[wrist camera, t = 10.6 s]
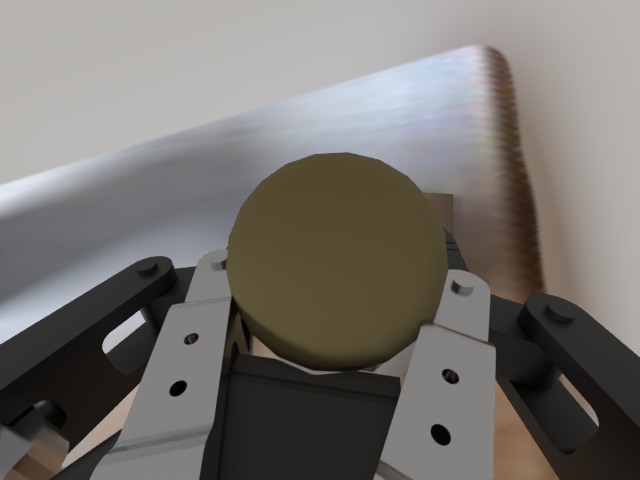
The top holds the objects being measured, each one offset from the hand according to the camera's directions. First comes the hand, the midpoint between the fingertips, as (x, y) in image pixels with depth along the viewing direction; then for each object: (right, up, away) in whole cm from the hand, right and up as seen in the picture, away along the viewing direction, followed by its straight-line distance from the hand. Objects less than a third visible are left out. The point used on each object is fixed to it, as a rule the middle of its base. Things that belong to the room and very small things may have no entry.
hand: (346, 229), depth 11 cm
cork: (0, -3, +5) cm, 5 cm away
